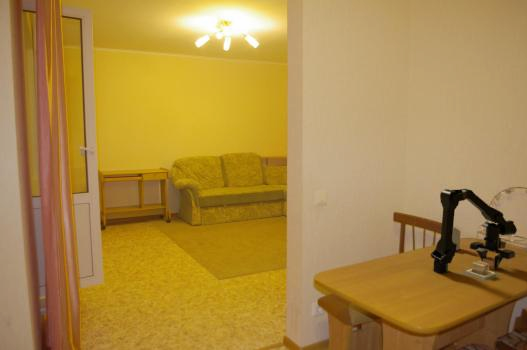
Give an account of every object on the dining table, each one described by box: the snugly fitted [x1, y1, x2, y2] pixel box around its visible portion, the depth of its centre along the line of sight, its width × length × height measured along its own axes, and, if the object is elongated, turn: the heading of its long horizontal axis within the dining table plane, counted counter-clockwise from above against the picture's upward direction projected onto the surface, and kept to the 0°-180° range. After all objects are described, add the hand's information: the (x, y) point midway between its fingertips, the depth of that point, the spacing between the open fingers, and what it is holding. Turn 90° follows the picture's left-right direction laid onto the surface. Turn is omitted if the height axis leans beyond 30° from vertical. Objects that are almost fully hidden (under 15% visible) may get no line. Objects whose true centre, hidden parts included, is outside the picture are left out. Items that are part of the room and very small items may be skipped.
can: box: [452, 226, 462, 251], centre depth 216 cm, size 8×8×12 cm
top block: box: [483, 256, 500, 271], centre depth 186 cm, size 5×5×5 cm
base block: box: [471, 260, 490, 276], centre depth 178 cm, size 5×5×5 cm
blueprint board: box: [460, 267, 501, 282], centre depth 179 cm, size 12×12×2 cm
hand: (490, 267), depth 186 cm, fingers closed on top block, 5 cm apart
